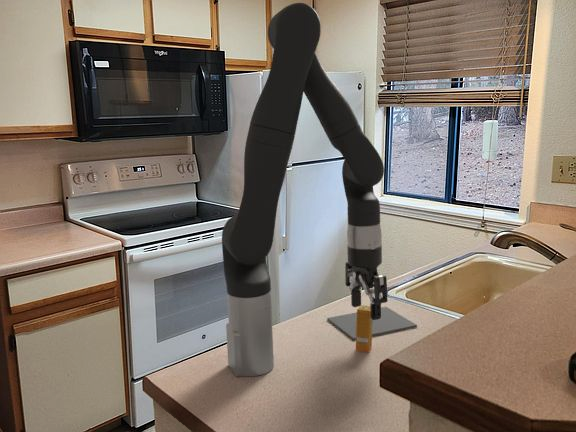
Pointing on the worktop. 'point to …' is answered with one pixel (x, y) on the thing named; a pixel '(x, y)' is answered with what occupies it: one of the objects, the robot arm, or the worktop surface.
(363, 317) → the supplement box
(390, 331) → the mat
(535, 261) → the worktop surface
